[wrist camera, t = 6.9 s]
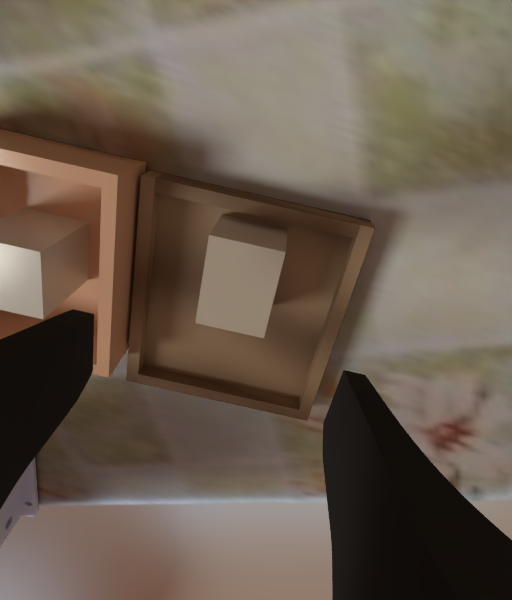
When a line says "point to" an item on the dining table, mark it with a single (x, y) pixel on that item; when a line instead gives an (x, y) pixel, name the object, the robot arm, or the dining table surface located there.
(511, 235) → the dining table surface
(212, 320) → the stone beige
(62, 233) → the stone grey
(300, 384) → the tray
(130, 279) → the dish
